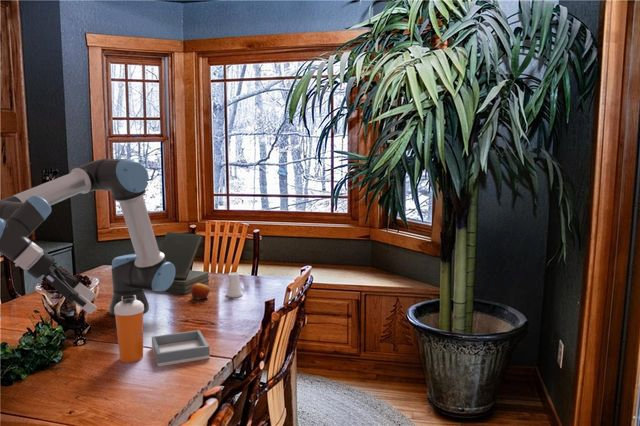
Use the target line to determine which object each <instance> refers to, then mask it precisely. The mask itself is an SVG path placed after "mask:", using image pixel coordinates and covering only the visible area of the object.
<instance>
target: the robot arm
mask: <svg viewBox="0 0 640 426" xmlns="http://www.w3.org/2000/svg"><path fill="white" fill-rule="evenodd" d="M149 178H150V176H149V171H148V170H147V167H146V166H145V165H144V164H143V163H142V162H141V161H138V160H135V159H131V158H124V159H123V158H100V159H97V160H94V161H91V162H90V161H89V162H87V163H85V164H82V165H80V166H77V167H75V168H73V169H71V170H70V172H69V173H68V174H65V175H62V176H60V177H57V178H54V179H52V180H50V181H47V182H44V183H41V184H39V185H37V186H33V187H31V188H30V189H29V188H28V189H26V190H24V191H22V192H18V193H16V194H14V195H10V196H8V197H6V198H2V199H0V254H1V255H3V256H4V257H6V258H7V259H9V260H10V261H11V262H13V263H15V264H14V266H15V267H17V268H18V267H20V268H21V269H22V270H26V272H27V274H29V275H30V276H32V277H33V278H35V279H39V278H41V277H42V276H44V277H45V278H44V281H45V282H47V283H48V284H49V285H50V286H52V288H54V289H55V290H56V291H57V292H58V293H59V294H61V295H62V296H63V297H64V298H65V299H66V300H67V302H68V303H69V304H72V303H74V304H75V305H77V306H78V307H79V308H80V309H82V310H83V311H85V312H86V313H88V314H89V315H91V314H93V313H94V312H95V310H97V308H98V306H96V304H94V303H92V302H91V301H93V300H94V299H95V298H96V297H97V294H96V293H95V292H94V291H92V290H91V289H89V288H88V287H87V286H85V285H84V284H83V283H82V282H81V280H82V279H80V278H79V277H78V278H77V277H76V276H74V275H72V274H71V273H69V272H67V271H65V270H64V269H62V268H61V267H59V266H58V265H57V264H56V263H55V261H56V259H55V257H54V256H52V255H51V254H49V253H48V252H44V249H43V248H42V247H40V246H39V245H38V244H37V243H35V242H34V241H32V240H31V239H29V237H30V236H31V235H32V234H33V232H34V231H36V229H37V228H38V227H39V226H41V224H42V223H44V221H46V219H47V218H48V217H49V216H50V214H51V213H52V207H51V206H53V205H55V204H58V203H59V202H63V201H65V200H67V199H69V198H71V197H74V196H76V195H79V194H83V195H84V194H87V193H90V192H93V191H107V192H110V193H111V195H112V199H113V200H114V201H115V202H118V203H119V206H120V209H121V212H122V216H123V219H124V222H125V225H126V228H127V230H128V233H129V238H130V240H131V243H132V244H131V245H132V247H133V251H134V253H131V254H130V253H129V254H125V255H120V256H116V257H114V258H113V259H112V260H111V278H112V298H111V301H110V304H109V307H108V308H109V310H108V311H109V315H111V316H114V317H115V314H114V307H115V305H116V304H117V303H119V302H121V301H122V296H130V295H135V296H136V300H139V301H141V302H142V303H143V304H144V311H143V314H145V313H147V312H149V310H150V308H149V307H150V306H149V305H150V304H149V302H148V299H147V296H146V294H145V292H144V289H146V290H145V291H152V290H153V292H160V291H165V290H167V289H168V288H169V287H170V286H171V285H172V283H173V281H174V278H175V267H174V265H173V264H172V263H170V262H167V261H166V258H165V255H164V253H163V252H160V251H159V250H160V248H159V246H158V242H157V240H156V235H155V233H154V229H153V226H152V222H151V219H150V218H151V217H150V216H149V212H148V209H147V205H146V202H145V199H144V195H145V194H146V193H147V190H146V189H147V188H148V185H149V182H148V181H149V180H150V179H149Z"/></svg>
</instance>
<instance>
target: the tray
mask: <svg viewBox="0 0 640 426" xmlns="http://www.w3.org/2000/svg"><path fill="white" fill-rule="evenodd" d="M151 349H152V351H153V356H154V358H155V361H156V362H155V363H156V365H157V367H163V366H164V367H165V366H170V365H176V364H183V363H187V362H193V361H200V360H206V359H210V357H211V355H210V345H209V343H208V341H207V340H206V338H205V337H204V335H203V333H202V332H201V330H200V329H196V330H189V331H182V332H175V333H170V334H162V335H161V334H160V335H152V336H151Z"/></svg>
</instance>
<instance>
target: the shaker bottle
mask: <svg viewBox="0 0 640 426" xmlns="http://www.w3.org/2000/svg"><path fill="white" fill-rule="evenodd" d="M143 311H144V304H143V303H142V302H141V301H139V300H136V296H135V295H130V296H122V301H121V302H119V303H117V304H116V305H115V307H114V314H115V316H114V317H115V325H116V326H115V327H116V334H117V343H118V344H117V346H118V353H119V355H118V356H119V360H120V362H122V363H134V362H138V361H141V360H142V359H143V358H144V313H143Z"/></svg>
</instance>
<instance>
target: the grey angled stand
mask: <svg viewBox="0 0 640 426" xmlns="http://www.w3.org/2000/svg"><path fill="white" fill-rule="evenodd" d="M203 238H204V236H202V234H199V233H198V234H197V233H196V234H195V233H185V232H170V231H167V232H166V234H165V237H164V239H163V241H162V243H161V246H160V247H159V251H160V252H163V253H164V255H165V258H166V261H167V262H170V263H172V264H173V265H174V267H175V278H174V281H173V283H172V285H171V286H170V287H169V288H168V289H167V290H165V291H159V292H161V293H167V294H168V293H169V294H177V295H183V296H184V295H185V296H186V295H187V294H189V293H191V289H192V286H193V285H194V284H197V283H200V284H204V285H207V286H208V285H209V282H210V280H209V277H210V275H209V271H204V270H203V271H202V270H201V271H200V270H192V269H191V268H192V265H193V263H194V261H195V258H196V256H197V254H198V251H199V248H200V247H201V246H200V245H201V243H202V241H203Z"/></svg>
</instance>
